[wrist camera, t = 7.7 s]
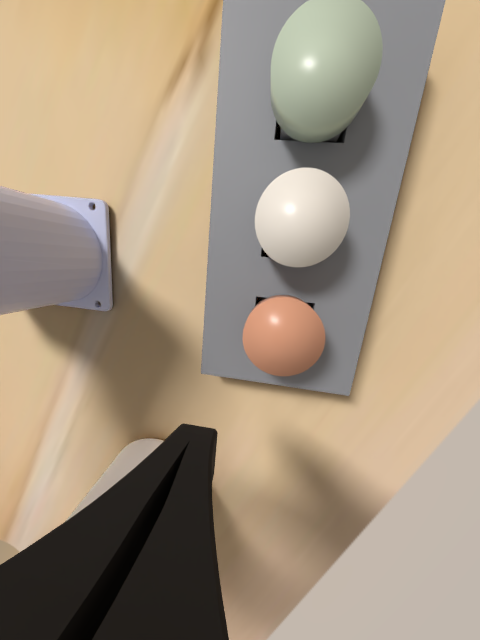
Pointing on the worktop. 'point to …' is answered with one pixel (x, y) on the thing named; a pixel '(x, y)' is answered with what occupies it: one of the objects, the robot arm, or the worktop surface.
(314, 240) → the cream button
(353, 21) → the sage button
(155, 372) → the worktop surface
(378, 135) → the button panel
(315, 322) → the terracotta button
